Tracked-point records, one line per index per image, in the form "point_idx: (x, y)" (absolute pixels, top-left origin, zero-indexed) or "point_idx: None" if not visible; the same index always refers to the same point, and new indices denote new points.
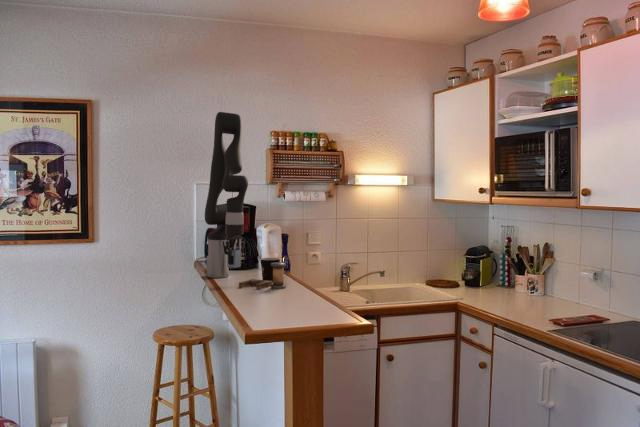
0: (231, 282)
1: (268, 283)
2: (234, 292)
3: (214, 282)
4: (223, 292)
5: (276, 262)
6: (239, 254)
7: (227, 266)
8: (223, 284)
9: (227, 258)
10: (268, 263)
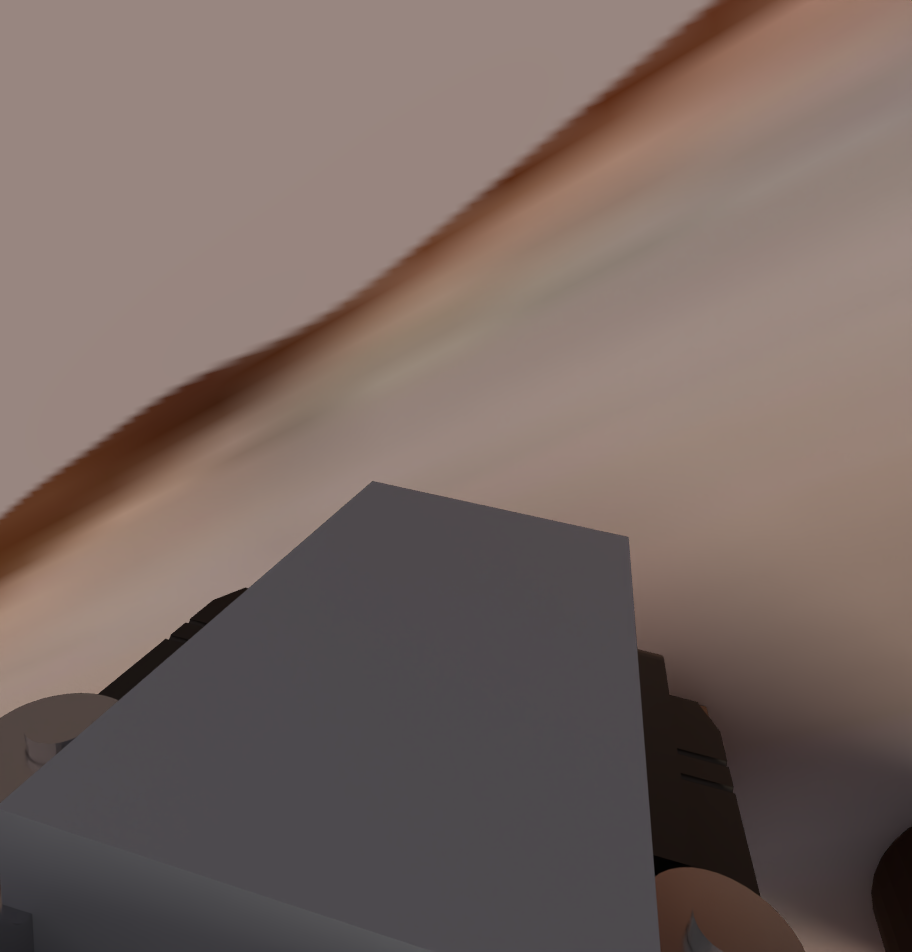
0: (772, 342)
1: None
2: (70, 679)
3: (692, 20)
4: (15, 567)
5: None
6: None
7: (368, 489)
8: (530, 303)
9: (263, 576)
10: None
